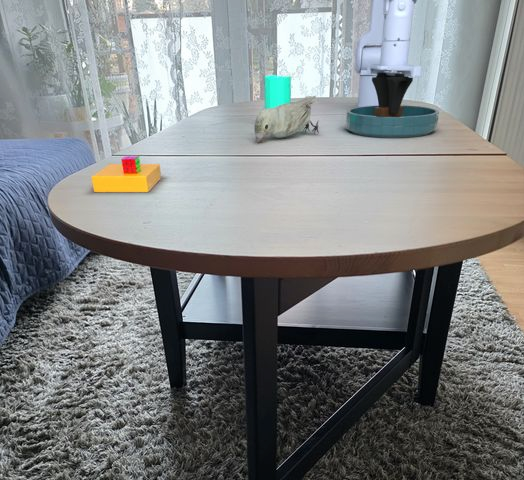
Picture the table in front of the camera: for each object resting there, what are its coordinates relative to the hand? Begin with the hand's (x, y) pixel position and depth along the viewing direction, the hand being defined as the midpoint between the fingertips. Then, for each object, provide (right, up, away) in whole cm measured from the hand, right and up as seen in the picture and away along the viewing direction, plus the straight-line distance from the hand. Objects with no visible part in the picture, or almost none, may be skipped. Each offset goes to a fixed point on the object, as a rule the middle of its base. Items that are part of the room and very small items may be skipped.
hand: (388, 112), depth 112 cm
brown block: (0, -1, +1) cm, 1 cm away
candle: (-24, 0, +8) cm, 26 cm away
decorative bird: (-23, -8, -6) cm, 25 cm away
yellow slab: (-48, -28, -36) cm, 66 cm away
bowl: (0, -4, -1) cm, 4 cm away
